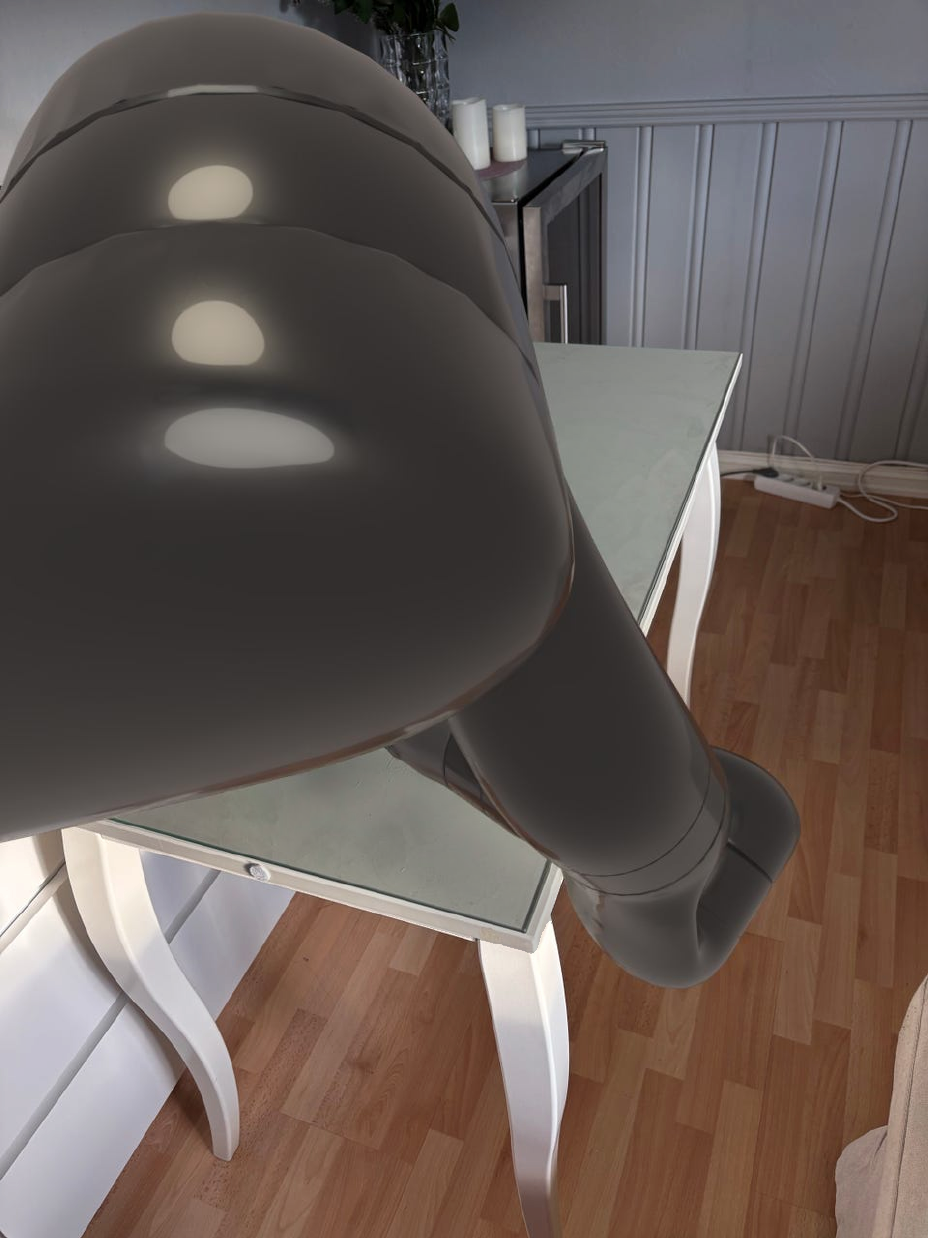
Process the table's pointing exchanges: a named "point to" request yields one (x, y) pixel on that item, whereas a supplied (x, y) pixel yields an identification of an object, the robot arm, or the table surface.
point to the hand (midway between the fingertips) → (258, 583)
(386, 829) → the table surface
